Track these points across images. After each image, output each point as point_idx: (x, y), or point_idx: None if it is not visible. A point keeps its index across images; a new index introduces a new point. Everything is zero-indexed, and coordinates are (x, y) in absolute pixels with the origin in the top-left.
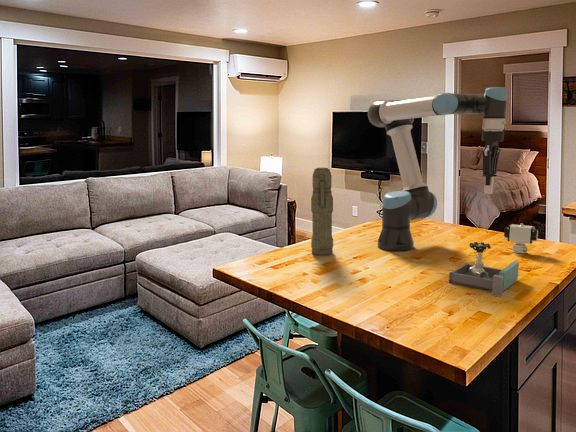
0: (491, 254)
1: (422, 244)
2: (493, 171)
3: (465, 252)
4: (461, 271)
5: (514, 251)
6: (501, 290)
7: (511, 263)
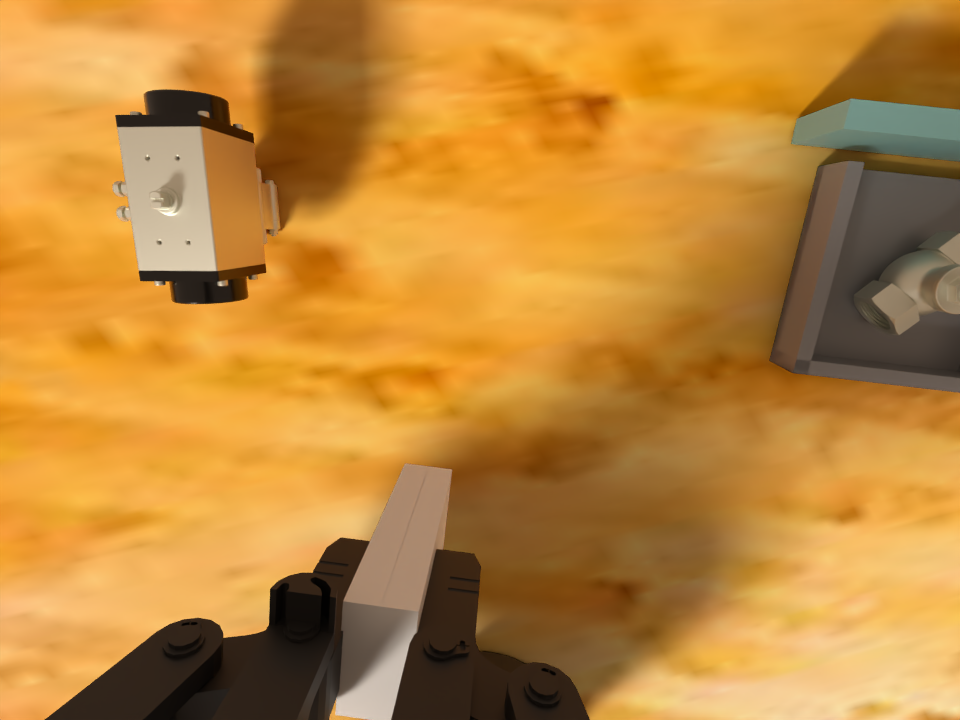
0: (377, 325)
1: None
2: (309, 697)
3: (409, 440)
4: (873, 364)
5: (276, 230)
6: None
7: (897, 131)
